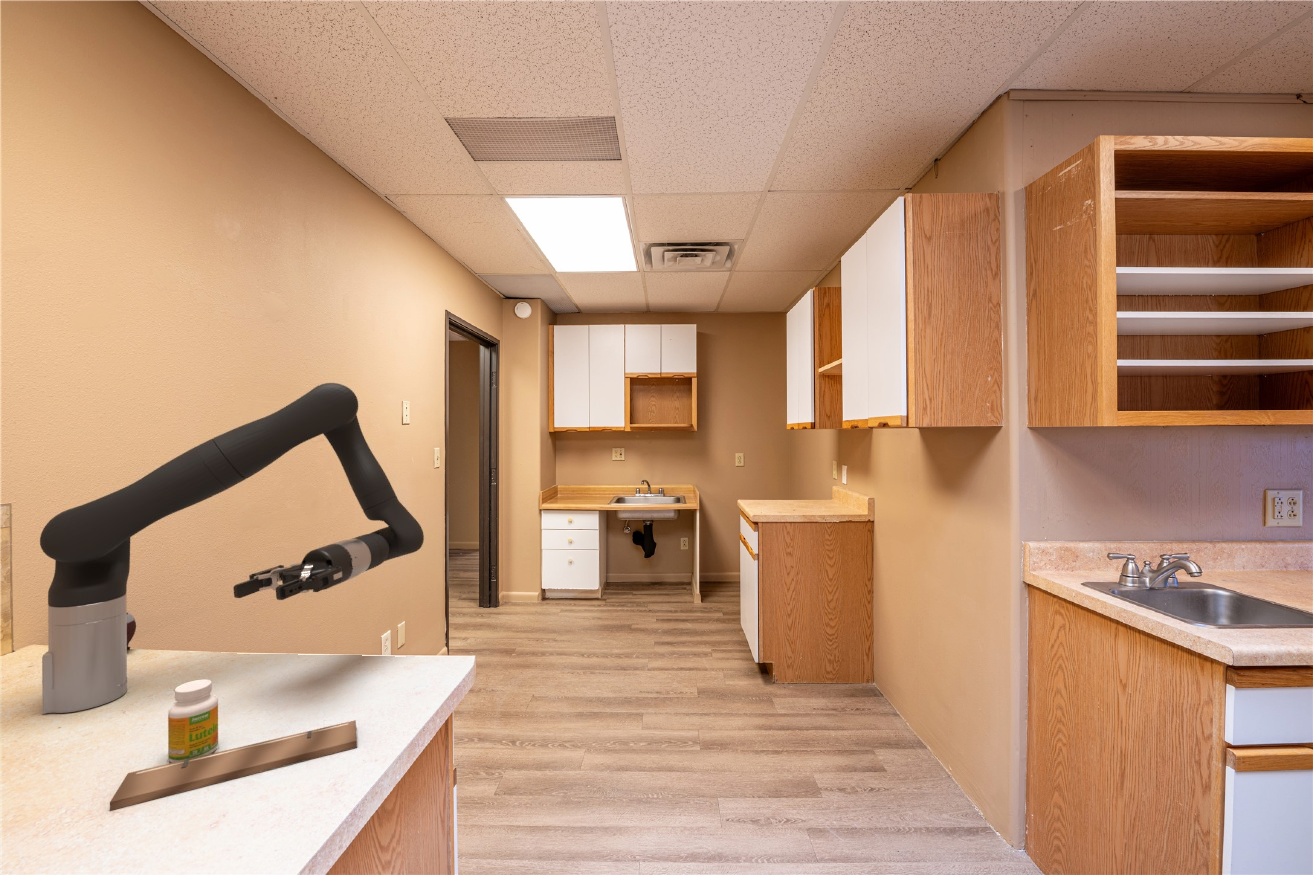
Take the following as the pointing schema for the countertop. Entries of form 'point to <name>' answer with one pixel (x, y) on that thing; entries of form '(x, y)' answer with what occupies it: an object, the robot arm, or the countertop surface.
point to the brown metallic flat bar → (232, 764)
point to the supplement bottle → (193, 721)
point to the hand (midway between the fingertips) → (256, 593)
